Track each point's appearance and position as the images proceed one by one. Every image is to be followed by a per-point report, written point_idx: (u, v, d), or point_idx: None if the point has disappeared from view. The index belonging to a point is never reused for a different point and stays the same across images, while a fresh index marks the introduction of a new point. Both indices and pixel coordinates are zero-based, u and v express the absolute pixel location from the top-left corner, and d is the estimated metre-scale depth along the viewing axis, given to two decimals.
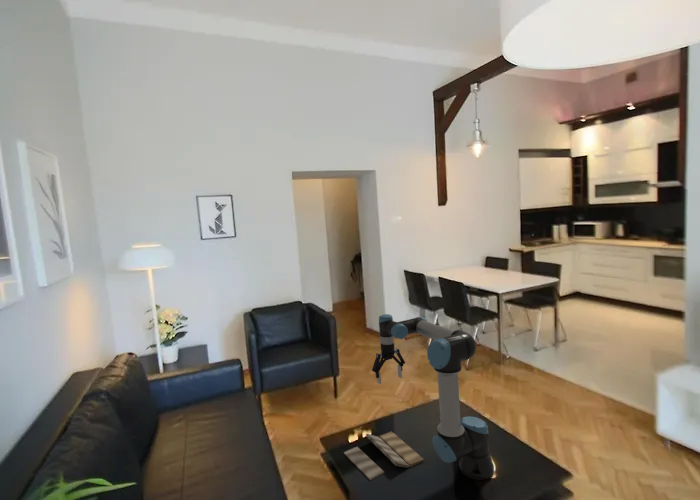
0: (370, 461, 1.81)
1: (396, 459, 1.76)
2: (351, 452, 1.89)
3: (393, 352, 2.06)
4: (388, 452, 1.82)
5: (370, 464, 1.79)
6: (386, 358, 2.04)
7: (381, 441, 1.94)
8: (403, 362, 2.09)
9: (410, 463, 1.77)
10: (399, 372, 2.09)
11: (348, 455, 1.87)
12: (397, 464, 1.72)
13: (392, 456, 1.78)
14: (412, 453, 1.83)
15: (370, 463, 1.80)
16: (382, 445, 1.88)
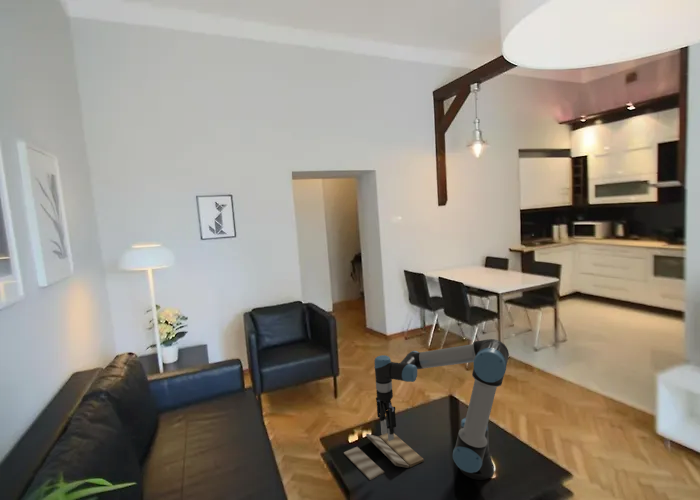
0: (370, 461, 1.81)
1: (396, 459, 1.76)
2: (351, 452, 1.89)
3: (386, 404, 1.72)
4: (388, 452, 1.82)
5: (370, 464, 1.79)
6: (380, 405, 1.76)
7: (381, 441, 1.94)
8: (390, 425, 1.70)
9: (410, 463, 1.77)
10: None
11: (348, 455, 1.87)
12: (397, 464, 1.72)
13: (392, 456, 1.78)
14: (412, 453, 1.83)
15: (370, 463, 1.80)
16: (382, 445, 1.88)
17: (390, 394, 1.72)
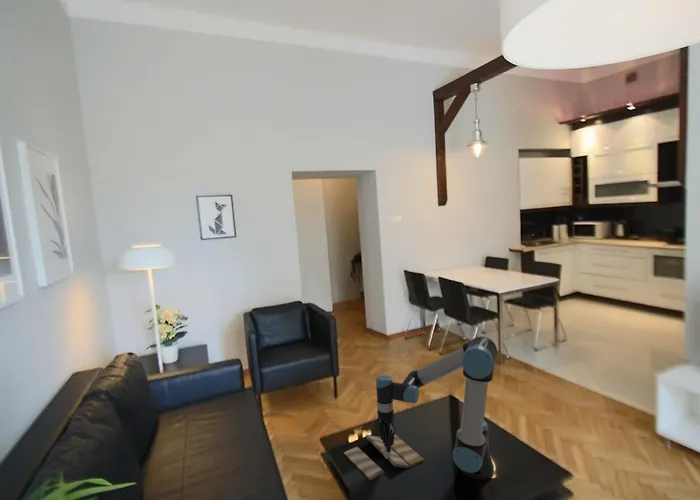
0: (370, 461, 1.81)
1: (396, 460, 1.76)
2: (351, 452, 1.89)
3: (387, 424, 1.73)
4: None
5: (370, 464, 1.79)
6: (381, 425, 1.76)
7: (381, 441, 1.94)
8: (388, 443, 1.73)
9: (410, 463, 1.77)
10: None
11: (348, 455, 1.87)
12: (397, 465, 1.72)
13: (391, 457, 1.78)
14: (412, 453, 1.83)
15: (370, 463, 1.80)
16: (382, 446, 1.88)
17: (391, 414, 1.73)
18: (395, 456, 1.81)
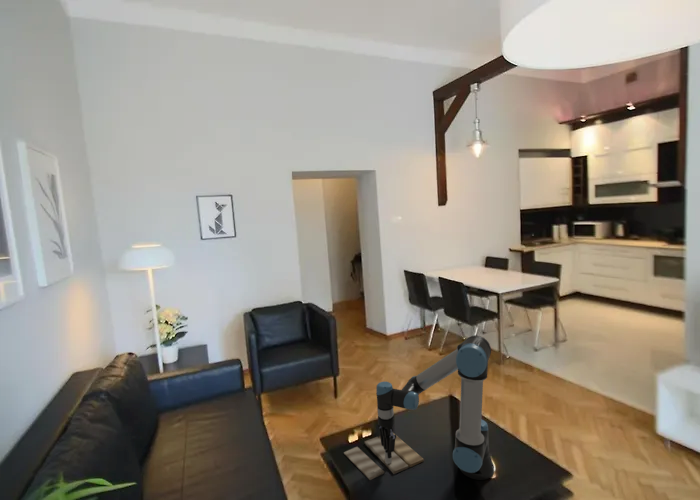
0: (370, 461, 1.81)
1: (394, 465, 1.76)
2: (351, 452, 1.89)
3: (387, 431, 1.73)
4: None
5: (370, 464, 1.79)
6: (382, 431, 1.76)
7: (380, 443, 1.94)
8: (388, 450, 1.74)
9: (410, 463, 1.77)
10: None
11: (348, 455, 1.87)
12: (395, 472, 1.72)
13: (390, 463, 1.78)
14: (412, 453, 1.83)
15: (370, 463, 1.80)
16: (380, 450, 1.88)
17: (391, 421, 1.73)
18: (394, 459, 1.80)
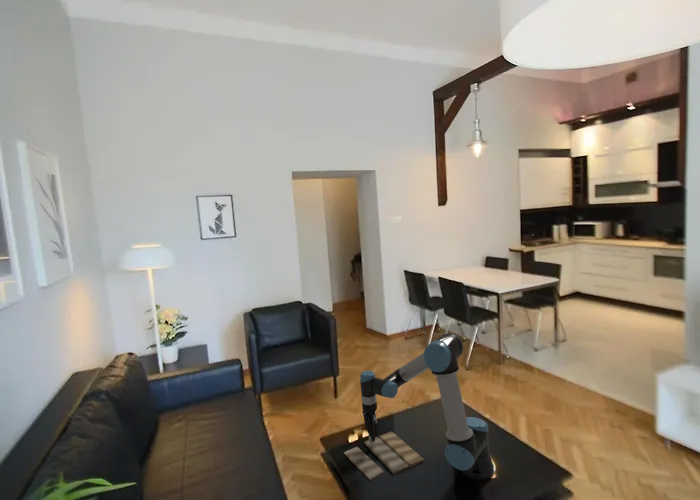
0: (370, 461, 1.81)
1: (394, 465, 1.76)
2: (351, 452, 1.89)
3: (371, 416, 1.87)
4: (386, 458, 1.81)
5: (370, 464, 1.79)
6: (366, 417, 1.91)
7: (380, 443, 1.94)
8: (372, 433, 1.88)
9: (410, 463, 1.77)
10: None
11: (348, 455, 1.87)
12: (395, 472, 1.72)
13: (390, 463, 1.78)
14: (412, 453, 1.83)
15: (370, 463, 1.80)
16: (380, 450, 1.88)
17: (374, 406, 1.87)
18: (394, 459, 1.80)
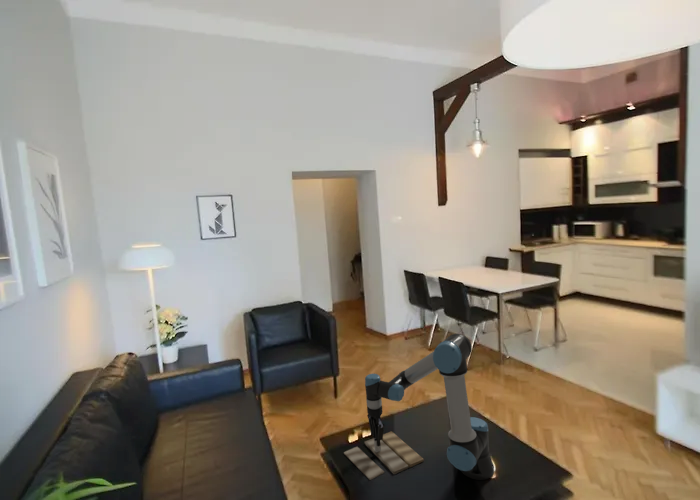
0: (370, 461, 1.81)
1: (394, 465, 1.76)
2: (351, 452, 1.89)
3: (376, 420, 1.83)
4: (386, 458, 1.81)
5: (370, 464, 1.79)
6: (371, 421, 1.86)
7: (380, 443, 1.94)
8: (377, 438, 1.83)
9: (410, 463, 1.77)
10: None
11: (348, 455, 1.87)
12: (395, 472, 1.72)
13: (390, 463, 1.78)
14: (412, 453, 1.83)
15: (370, 463, 1.80)
16: None
17: (380, 410, 1.83)
18: (394, 459, 1.80)
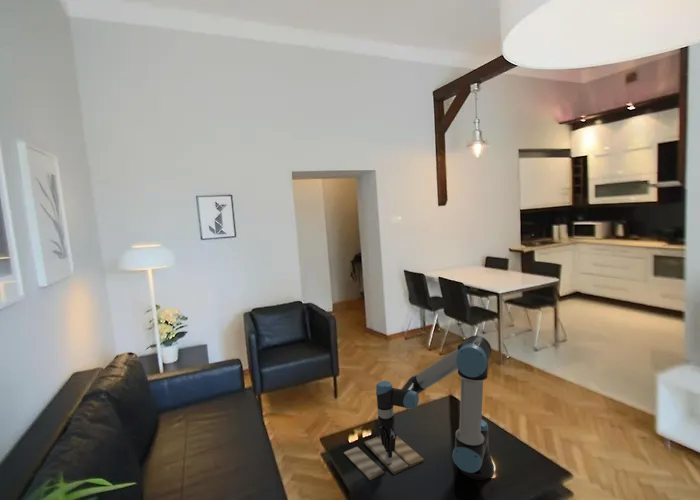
0: (370, 461, 1.81)
1: (394, 465, 1.76)
2: (351, 452, 1.89)
3: (388, 430, 1.73)
4: None
5: (370, 464, 1.79)
6: (382, 431, 1.77)
7: (380, 443, 1.94)
8: (389, 449, 1.74)
9: (410, 463, 1.77)
10: None
11: (348, 455, 1.87)
12: (395, 472, 1.72)
13: (390, 463, 1.78)
14: (412, 453, 1.83)
15: (370, 463, 1.80)
16: (380, 450, 1.88)
17: (392, 420, 1.73)
18: (394, 459, 1.80)
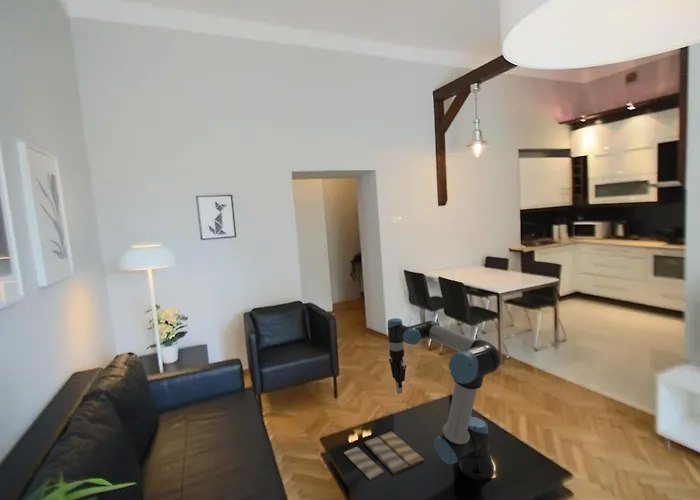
0: (370, 461, 1.81)
1: (394, 465, 1.76)
2: (351, 452, 1.89)
3: (398, 362, 1.90)
4: (386, 458, 1.81)
5: (370, 464, 1.79)
6: (393, 364, 1.93)
7: (380, 443, 1.94)
8: (399, 379, 1.91)
9: (410, 463, 1.77)
10: None
11: (348, 455, 1.87)
12: (395, 472, 1.72)
13: (390, 463, 1.78)
14: (412, 453, 1.83)
15: (370, 463, 1.80)
16: (380, 450, 1.88)
17: (402, 352, 1.90)
18: (394, 459, 1.80)
